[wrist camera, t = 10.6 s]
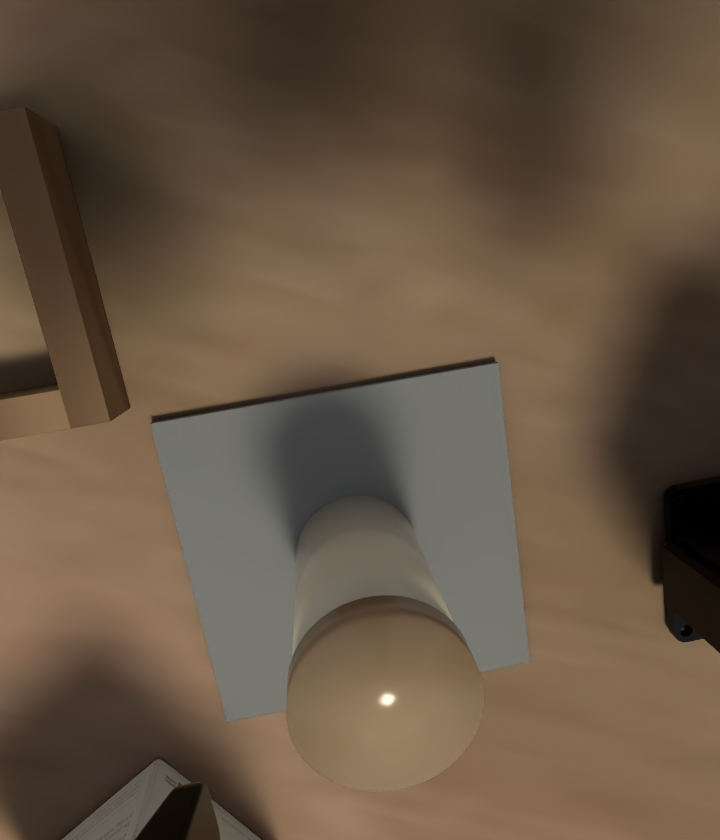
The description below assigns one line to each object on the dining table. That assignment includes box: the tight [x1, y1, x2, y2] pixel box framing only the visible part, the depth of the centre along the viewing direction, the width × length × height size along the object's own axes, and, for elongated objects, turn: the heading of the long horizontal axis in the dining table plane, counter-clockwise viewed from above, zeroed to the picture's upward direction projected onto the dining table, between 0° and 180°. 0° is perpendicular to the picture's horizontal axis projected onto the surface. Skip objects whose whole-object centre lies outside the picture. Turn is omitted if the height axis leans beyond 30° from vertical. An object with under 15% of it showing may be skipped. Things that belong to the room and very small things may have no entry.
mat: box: [150, 362, 530, 722], centre depth 21 cm, size 12×12×1 cm
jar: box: [286, 496, 485, 792], centre depth 17 cm, size 5×5×8 cm
